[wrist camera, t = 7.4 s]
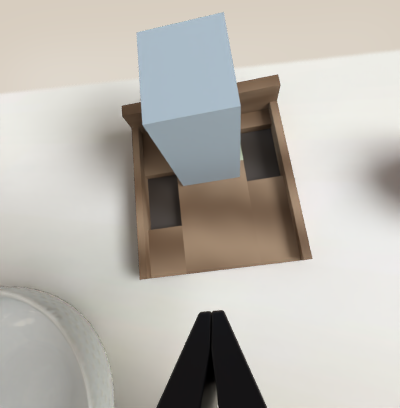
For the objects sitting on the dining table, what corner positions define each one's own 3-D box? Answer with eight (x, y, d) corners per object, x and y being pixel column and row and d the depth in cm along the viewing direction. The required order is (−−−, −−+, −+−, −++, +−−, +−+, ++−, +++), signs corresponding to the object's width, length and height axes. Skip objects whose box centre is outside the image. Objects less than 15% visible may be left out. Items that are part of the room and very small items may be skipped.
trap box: (305, 259, 21) (320, 257, 17) (148, 278, 22) (129, 280, 18) (271, 105, 24) (277, 74, 21) (139, 130, 26) (121, 105, 22)
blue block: (240, 176, 22) (240, 106, 12) (183, 186, 23) (142, 124, 13) (229, 116, 24) (223, 12, 14) (177, 126, 24) (136, 32, 15)
